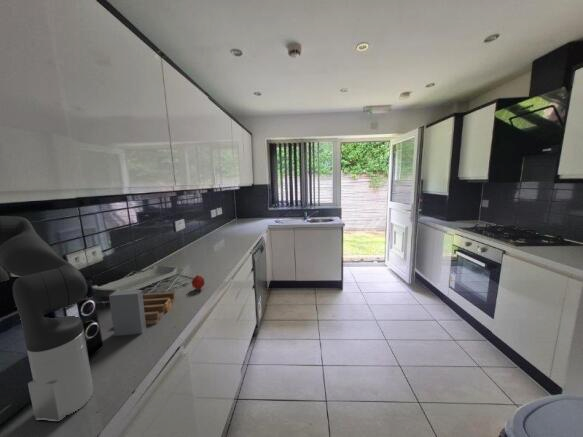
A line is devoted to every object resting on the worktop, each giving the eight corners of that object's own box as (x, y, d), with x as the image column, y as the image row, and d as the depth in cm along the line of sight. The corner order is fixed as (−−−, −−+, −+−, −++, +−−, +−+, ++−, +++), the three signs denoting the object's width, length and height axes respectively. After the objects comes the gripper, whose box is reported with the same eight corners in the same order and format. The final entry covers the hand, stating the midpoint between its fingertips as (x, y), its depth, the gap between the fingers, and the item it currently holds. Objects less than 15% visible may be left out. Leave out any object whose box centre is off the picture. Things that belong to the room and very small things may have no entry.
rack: (159, 323, 87) (158, 314, 86) (116, 326, 85) (115, 318, 84) (177, 297, 106) (177, 290, 106) (143, 300, 105) (142, 292, 104)
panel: (142, 333, 81) (137, 293, 79) (114, 336, 80) (108, 295, 78) (146, 328, 84) (141, 289, 82) (119, 330, 83) (114, 291, 81)
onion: (192, 288, 116) (191, 273, 115) (204, 286, 118) (203, 271, 117) (192, 293, 111) (190, 277, 109) (205, 291, 113) (203, 275, 111)
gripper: (19, 316, 70) (78, 312, 72) (59, 294, 84) (108, 291, 86) (24, 339, 71) (82, 334, 73) (63, 313, 85) (110, 310, 87)
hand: (96, 311), depth 79 cm, fingers open, 8 cm apart
